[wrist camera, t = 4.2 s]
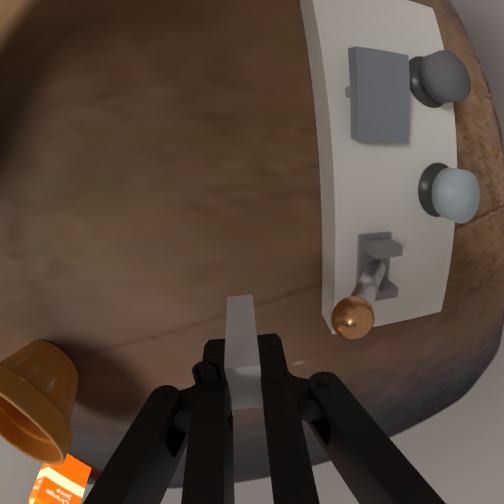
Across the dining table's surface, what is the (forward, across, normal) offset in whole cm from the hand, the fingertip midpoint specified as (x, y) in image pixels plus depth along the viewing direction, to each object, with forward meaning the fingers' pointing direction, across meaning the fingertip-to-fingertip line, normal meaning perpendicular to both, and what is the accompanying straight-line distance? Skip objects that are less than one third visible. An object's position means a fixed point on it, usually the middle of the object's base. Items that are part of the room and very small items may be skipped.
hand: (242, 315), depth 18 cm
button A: (+4, +18, +16) cm, 24 cm away
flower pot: (+10, -28, -13) cm, 32 cm away
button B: (+4, +18, +6) cm, 20 cm away
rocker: (+5, +11, +14) cm, 18 cm away
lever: (+5, +11, 0) cm, 12 cm away
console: (+10, +14, +9) cm, 20 cm away
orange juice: (+10, -43, -43) cm, 61 cm away
